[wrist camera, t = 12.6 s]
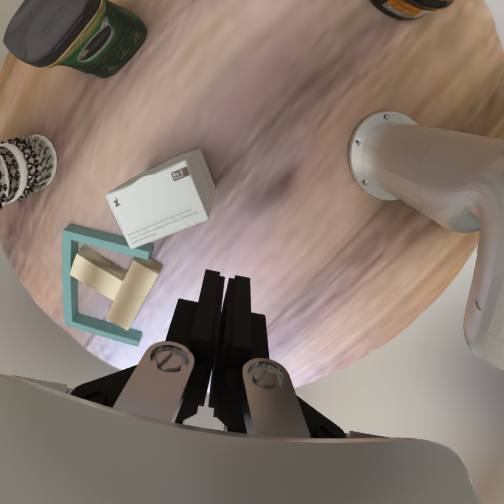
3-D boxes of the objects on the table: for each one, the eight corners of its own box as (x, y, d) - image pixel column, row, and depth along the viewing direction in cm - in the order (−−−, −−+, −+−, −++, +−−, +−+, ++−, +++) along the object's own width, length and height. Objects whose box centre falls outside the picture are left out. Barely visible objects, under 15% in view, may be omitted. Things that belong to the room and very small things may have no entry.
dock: (153, 244, 43) (148, 252, 41) (141, 337, 50) (137, 346, 48) (70, 223, 41) (62, 229, 39) (70, 316, 48) (65, 324, 46)
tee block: (162, 264, 45) (158, 274, 42) (132, 319, 48) (127, 330, 46) (93, 223, 42) (85, 231, 39) (71, 283, 45) (63, 293, 43)
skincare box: (161, 208, 41) (127, 255, 28) (144, 168, 39) (99, 196, 25) (219, 186, 40) (210, 224, 27) (203, 143, 38) (184, 159, 24)
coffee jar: (119, 4, 29) (52, -48, 12) (157, 32, 31) (102, -19, 14) (72, 57, 31) (-15, 39, 14) (107, 87, 34) (24, 78, 17)
